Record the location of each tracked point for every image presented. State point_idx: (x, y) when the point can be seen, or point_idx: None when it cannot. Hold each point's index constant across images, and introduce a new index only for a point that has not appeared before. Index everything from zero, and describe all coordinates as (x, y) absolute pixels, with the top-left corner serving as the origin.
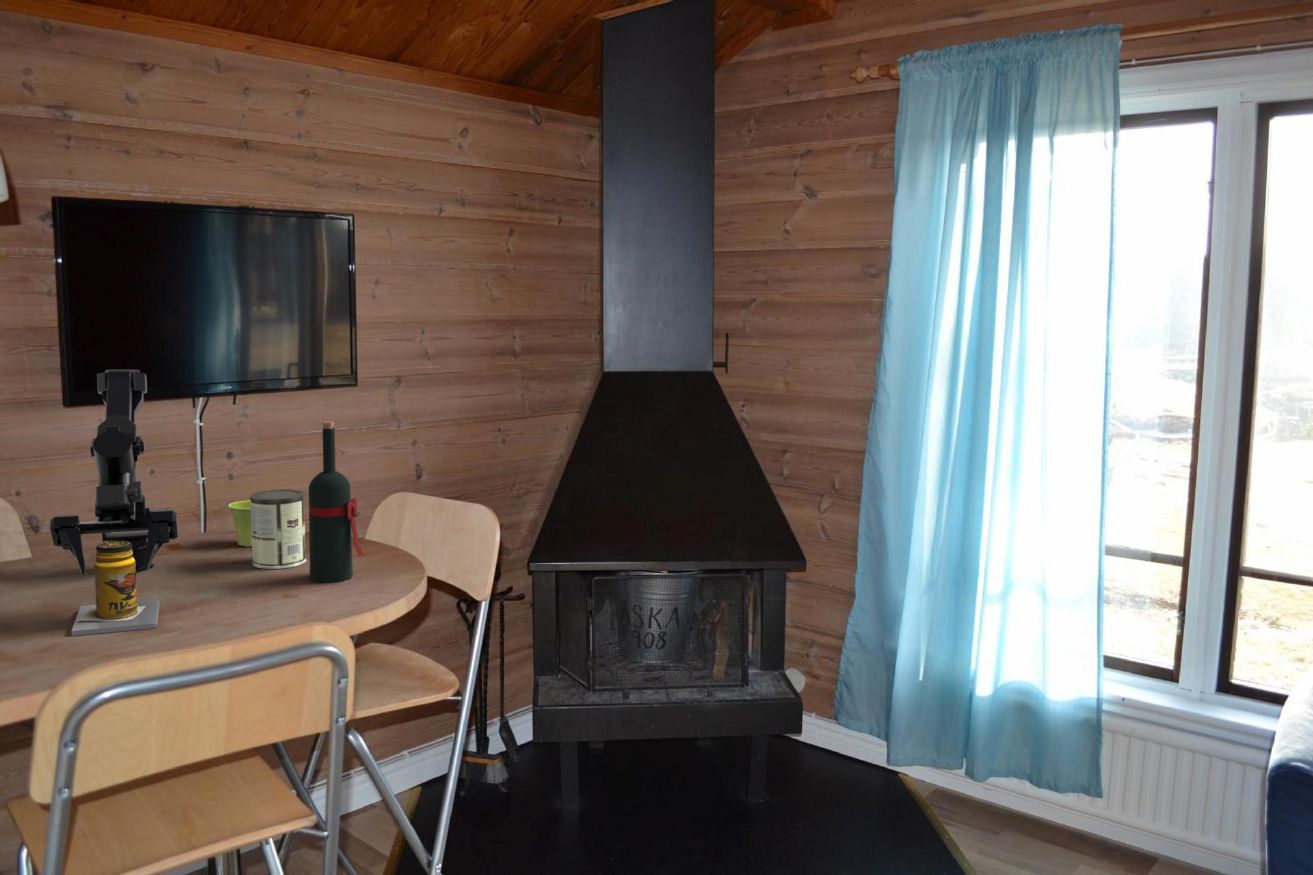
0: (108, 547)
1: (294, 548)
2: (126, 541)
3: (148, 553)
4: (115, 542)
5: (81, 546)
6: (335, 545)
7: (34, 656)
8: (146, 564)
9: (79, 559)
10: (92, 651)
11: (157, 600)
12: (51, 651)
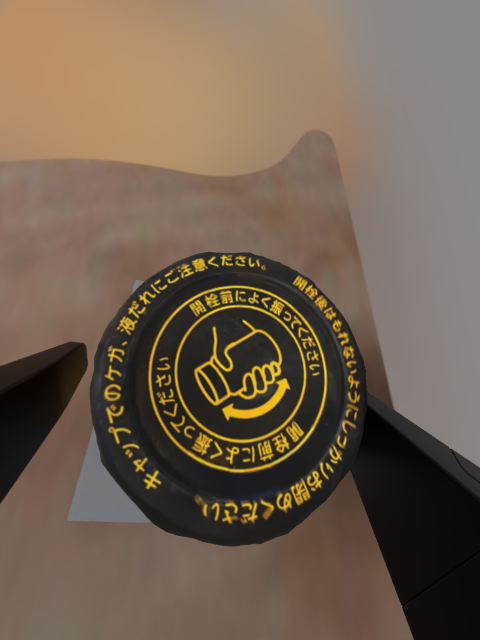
0: (285, 272)
1: None
2: (121, 440)
3: (1, 375)
4: (229, 458)
5: (466, 488)
6: None
7: (330, 239)
8: (69, 343)
9: (394, 415)
10: (255, 218)
11: (76, 505)
12: (311, 248)
